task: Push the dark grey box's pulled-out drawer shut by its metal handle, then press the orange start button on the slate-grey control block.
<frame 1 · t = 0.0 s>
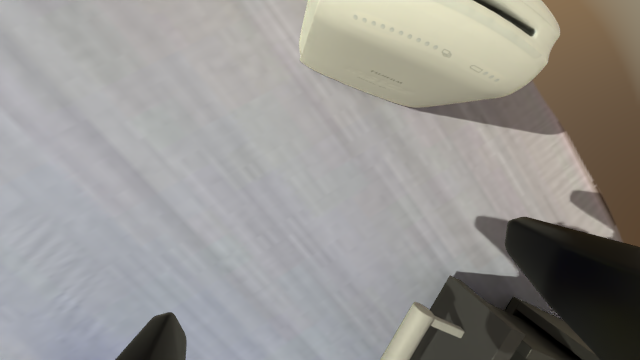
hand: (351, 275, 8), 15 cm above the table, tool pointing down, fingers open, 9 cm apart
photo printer: (364, 64, 22), on the table
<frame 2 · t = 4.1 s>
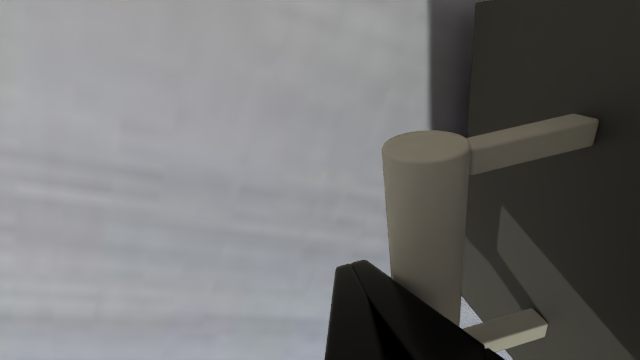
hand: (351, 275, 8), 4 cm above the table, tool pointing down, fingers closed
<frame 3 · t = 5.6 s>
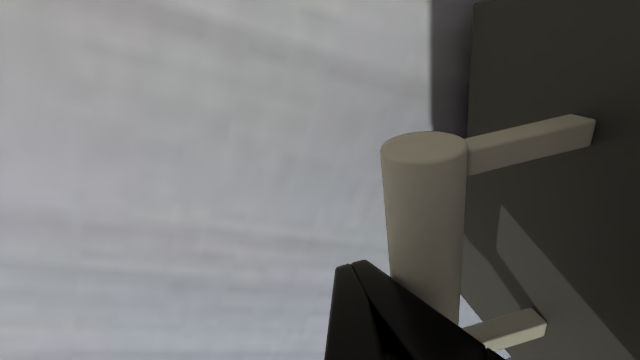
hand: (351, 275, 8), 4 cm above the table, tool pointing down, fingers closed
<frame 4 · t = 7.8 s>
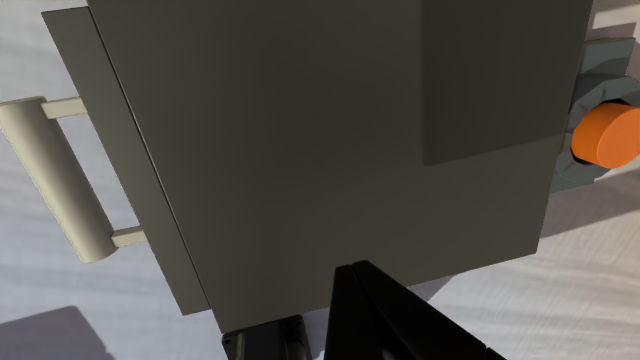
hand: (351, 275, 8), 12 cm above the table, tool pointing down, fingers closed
control block: (539, 122, 22), on the table
start button: (610, 135, 18), point 4 cm above the table, slide at 0.1 cm
drawer: (259, 145, 14), point 4 cm above the table, slide at 0.3 cm
dark grey box: (329, 110, 18), on the table
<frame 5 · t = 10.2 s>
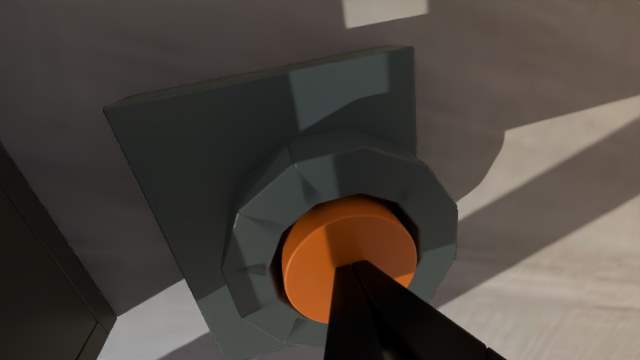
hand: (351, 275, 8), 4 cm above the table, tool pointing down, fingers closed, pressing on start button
control block: (297, 209, 11), on the table
start button: (344, 253, 9), point 3 cm above the table, slide at -0.8 cm, touching gripper
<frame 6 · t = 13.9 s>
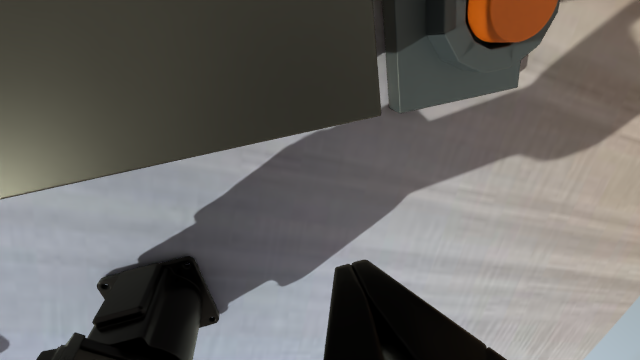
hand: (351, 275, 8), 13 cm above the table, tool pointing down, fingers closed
control block: (446, 12, 18), on the table
start button: (511, 1, 15), point 4 cm above the table, slide at 0.1 cm
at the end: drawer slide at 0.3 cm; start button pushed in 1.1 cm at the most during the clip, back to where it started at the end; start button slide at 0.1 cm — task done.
